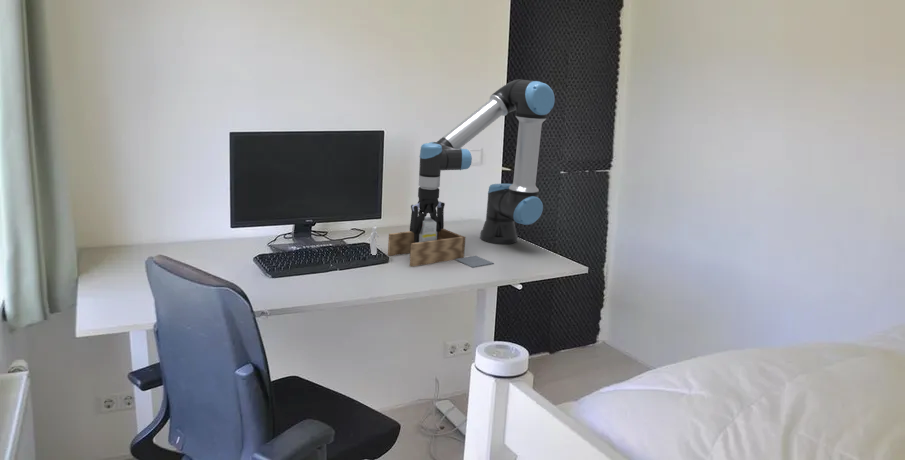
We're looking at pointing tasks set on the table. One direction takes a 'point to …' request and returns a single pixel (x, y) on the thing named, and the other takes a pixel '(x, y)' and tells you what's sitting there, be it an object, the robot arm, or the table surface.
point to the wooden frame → (427, 247)
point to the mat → (474, 261)
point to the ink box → (428, 229)
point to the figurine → (373, 241)
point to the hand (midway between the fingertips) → (425, 249)
